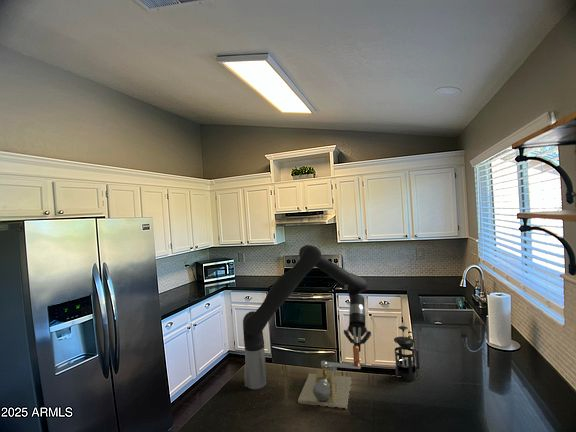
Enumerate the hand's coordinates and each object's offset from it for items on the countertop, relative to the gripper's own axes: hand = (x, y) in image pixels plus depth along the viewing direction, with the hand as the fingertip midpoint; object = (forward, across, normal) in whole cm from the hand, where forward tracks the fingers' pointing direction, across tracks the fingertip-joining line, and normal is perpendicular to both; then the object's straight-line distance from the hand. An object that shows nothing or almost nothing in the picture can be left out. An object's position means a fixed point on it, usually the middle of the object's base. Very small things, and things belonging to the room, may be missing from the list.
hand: (357, 352), depth 134 cm
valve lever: (+7, -7, -1) cm, 10 cm away
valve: (+14, -14, +8) cm, 22 cm away
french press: (+1, +21, +22) cm, 31 cm away
